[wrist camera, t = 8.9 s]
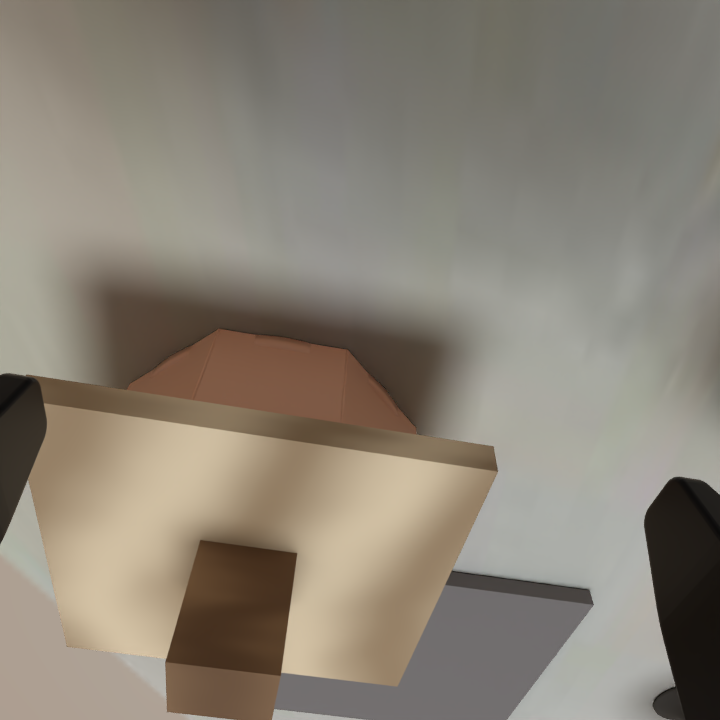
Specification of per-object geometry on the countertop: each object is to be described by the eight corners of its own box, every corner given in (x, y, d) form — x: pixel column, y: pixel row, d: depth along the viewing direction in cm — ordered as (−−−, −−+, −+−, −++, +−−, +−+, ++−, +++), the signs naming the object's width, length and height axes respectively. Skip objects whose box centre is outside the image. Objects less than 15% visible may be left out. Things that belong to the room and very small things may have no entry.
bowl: (439, 362, 23) (450, 462, 19) (379, 547, 30) (377, 647, 26) (122, 310, 22) (64, 404, 18) (137, 513, 29) (97, 612, 25)
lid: (493, 446, 18) (521, 599, 15) (397, 662, 27) (398, 798, 23) (26, 374, 17) (-80, 519, 13) (76, 623, 26) (20, 757, 22)
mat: (589, 590, 32) (593, 604, 31) (493, 721, 41) (495, 734, 41) (278, 548, 30) (276, 562, 30) (255, 693, 40) (253, 706, 39)
